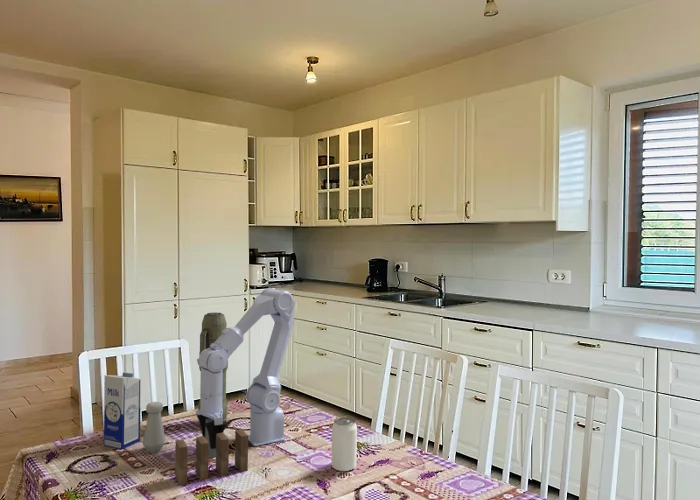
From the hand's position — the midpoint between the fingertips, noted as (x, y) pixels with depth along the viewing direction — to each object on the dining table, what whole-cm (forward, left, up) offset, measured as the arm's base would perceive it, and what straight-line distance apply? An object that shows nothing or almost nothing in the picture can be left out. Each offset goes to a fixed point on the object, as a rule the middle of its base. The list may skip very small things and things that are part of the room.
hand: (210, 443), depth 139 cm
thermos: (-7, -23, -3) cm, 24 cm away
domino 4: (0, +12, -3) cm, 12 cm away
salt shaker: (+13, -10, -3) cm, 17 cm away
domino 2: (+5, +12, -3) cm, 14 cm away
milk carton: (+20, -19, -3) cm, 28 cm away
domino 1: (+10, +12, -3) cm, 16 cm away
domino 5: (-5, +12, -3) cm, 13 cm away
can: (-28, +24, -3) cm, 37 cm away
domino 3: (0, 0, -3) cm, 3 cm away
